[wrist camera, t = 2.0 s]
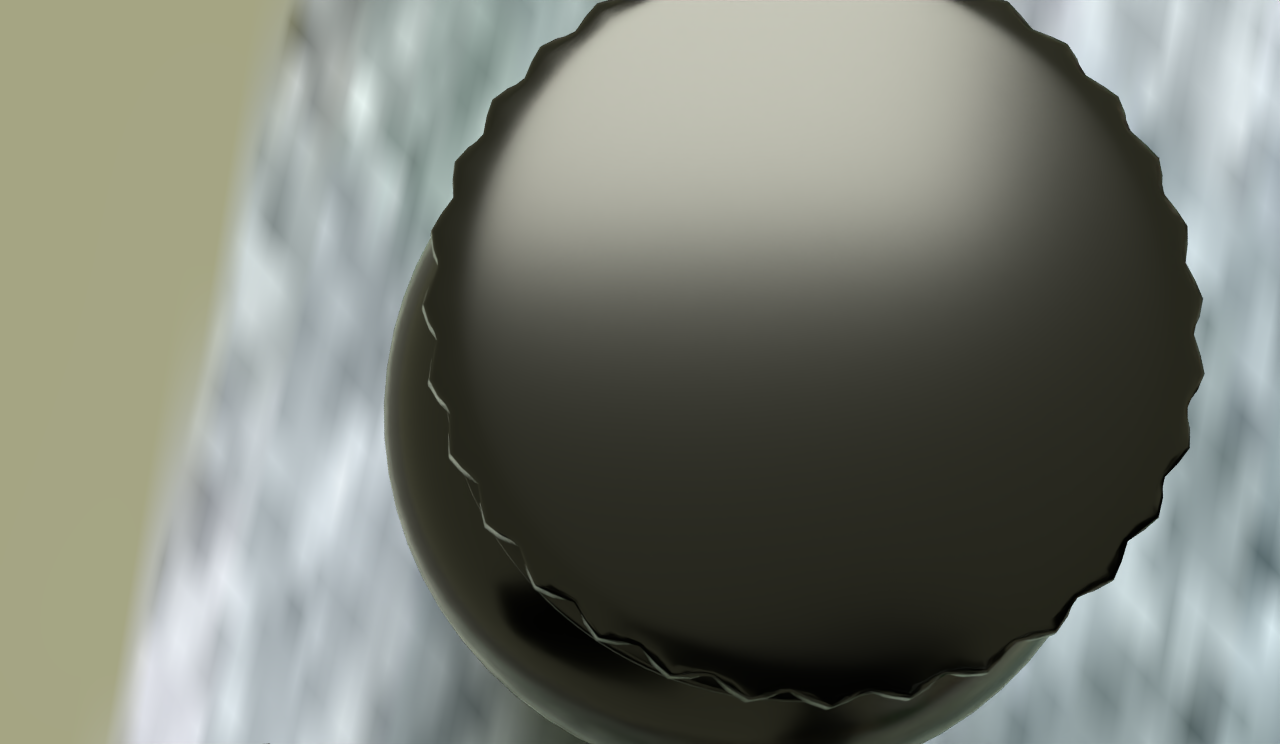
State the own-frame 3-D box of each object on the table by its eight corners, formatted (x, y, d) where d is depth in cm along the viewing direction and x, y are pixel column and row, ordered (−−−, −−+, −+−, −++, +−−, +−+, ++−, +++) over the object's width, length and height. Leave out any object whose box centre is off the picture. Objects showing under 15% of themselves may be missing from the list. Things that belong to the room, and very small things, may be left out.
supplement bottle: (560, 235, 19) (452, -315, 7) (944, 345, 19) (1461, -48, 7) (435, 625, 18) (69, 699, 6) (845, 749, 18) (1275, 1075, 6)
